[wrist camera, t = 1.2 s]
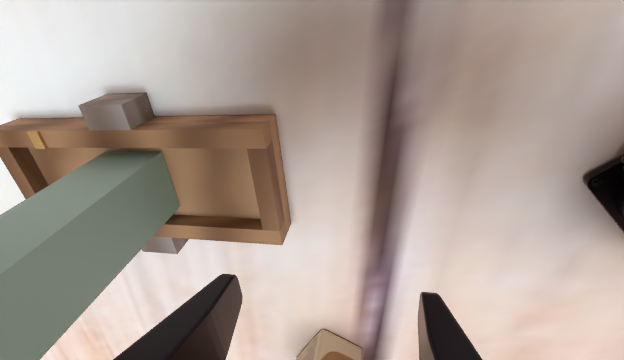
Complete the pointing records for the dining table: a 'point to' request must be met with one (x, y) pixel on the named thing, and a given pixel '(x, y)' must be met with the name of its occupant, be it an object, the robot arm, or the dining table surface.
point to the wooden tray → (179, 160)
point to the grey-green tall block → (75, 244)
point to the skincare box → (330, 348)
